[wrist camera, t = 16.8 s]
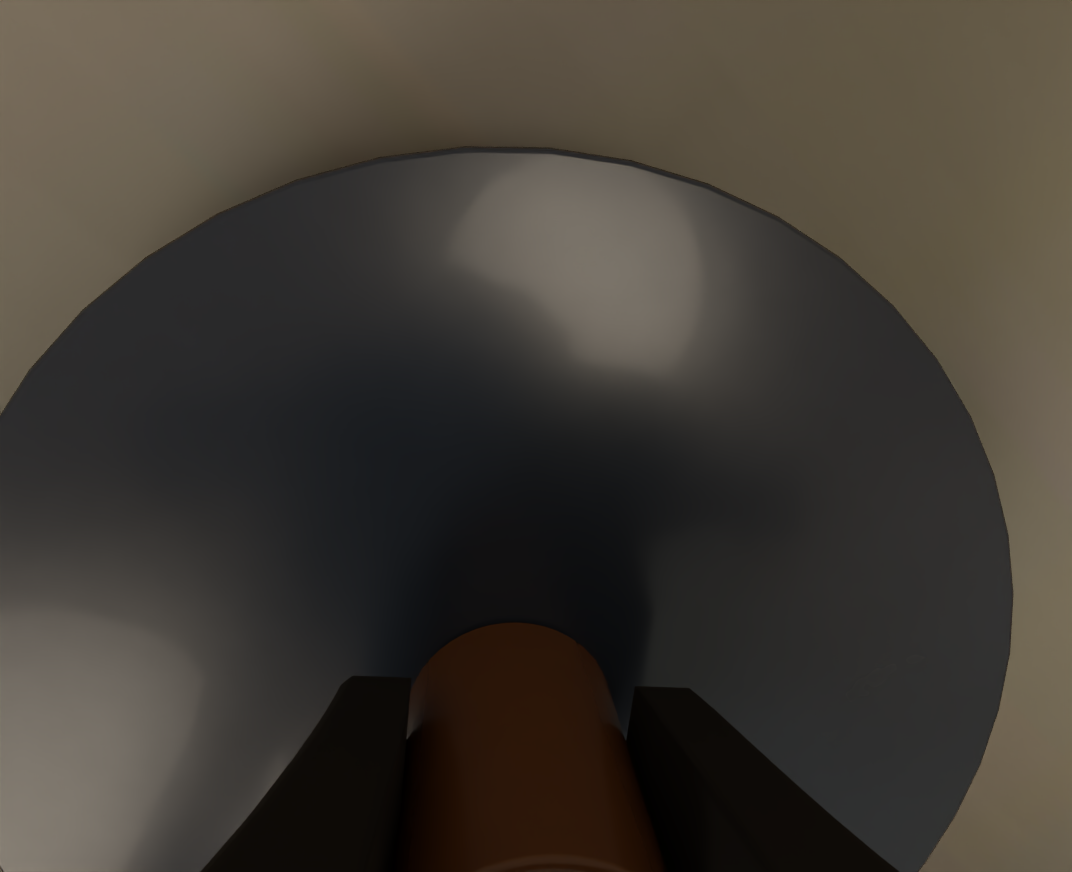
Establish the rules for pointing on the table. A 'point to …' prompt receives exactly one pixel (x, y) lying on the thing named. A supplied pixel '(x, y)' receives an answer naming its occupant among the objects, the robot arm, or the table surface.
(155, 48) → the table surface
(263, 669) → the pot lid
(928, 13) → the table surface
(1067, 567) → the table surface
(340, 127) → the table surface
